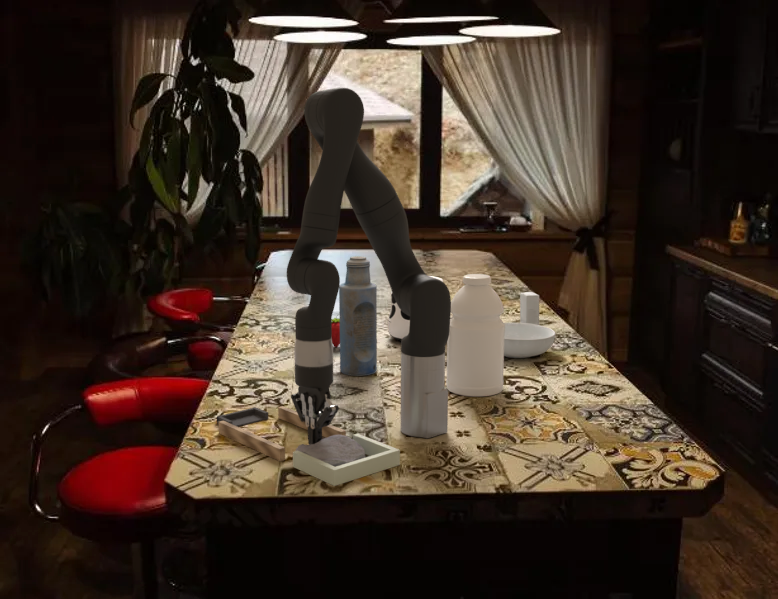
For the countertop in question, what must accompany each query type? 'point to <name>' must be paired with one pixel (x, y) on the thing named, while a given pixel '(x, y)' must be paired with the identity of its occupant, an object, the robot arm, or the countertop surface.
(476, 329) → the bottle
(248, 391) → the countertop surface
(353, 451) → the stone block
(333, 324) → the strawberry
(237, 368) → the countertop surface
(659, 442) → the countertop surface
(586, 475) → the countertop surface
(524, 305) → the skincare box
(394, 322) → the milk container
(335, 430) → the channel
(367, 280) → the bottle
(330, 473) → the u-shaped green frame
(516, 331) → the serving bowl
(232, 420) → the dark gray shallow tray
